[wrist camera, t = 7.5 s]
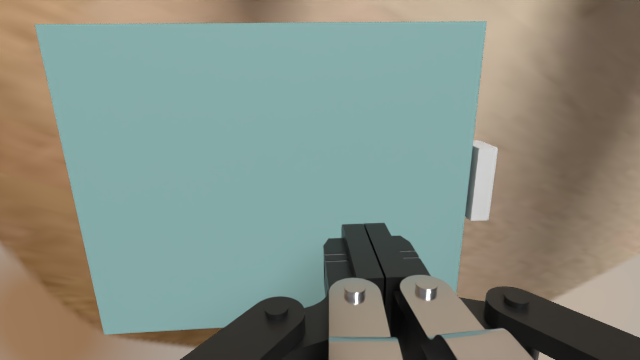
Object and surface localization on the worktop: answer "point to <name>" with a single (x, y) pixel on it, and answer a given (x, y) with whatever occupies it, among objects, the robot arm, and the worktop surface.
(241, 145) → the lid
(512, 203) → the worktop surface
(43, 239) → the worktop surface
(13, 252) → the worktop surface
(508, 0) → the worktop surface
